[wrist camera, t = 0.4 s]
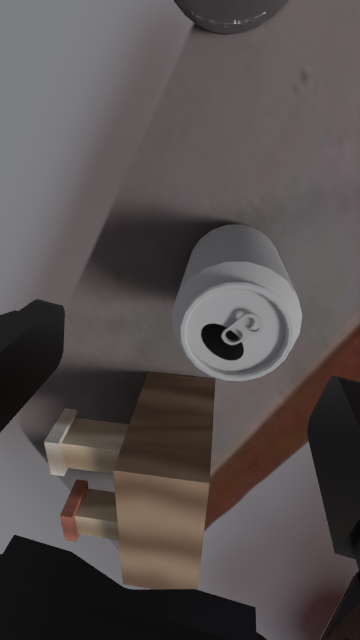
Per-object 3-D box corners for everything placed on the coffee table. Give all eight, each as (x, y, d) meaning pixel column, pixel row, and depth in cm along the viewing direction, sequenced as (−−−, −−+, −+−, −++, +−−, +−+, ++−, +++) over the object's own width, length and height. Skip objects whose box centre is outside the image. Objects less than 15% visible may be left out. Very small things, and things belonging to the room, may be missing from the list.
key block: (147, 371, 35) (113, 470, 24) (215, 379, 34) (209, 483, 24) (149, 474, 42) (122, 583, 32) (204, 482, 42) (196, 596, 31)
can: (171, 266, 29) (139, 335, 19) (234, 201, 26) (238, 240, 16) (231, 321, 31) (233, 412, 21) (297, 266, 28) (339, 340, 17)
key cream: (64, 408, 31) (43, 441, 28) (162, 420, 30) (153, 456, 27) (69, 439, 33) (50, 474, 30) (161, 451, 32) (153, 488, 29)
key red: (76, 479, 36) (60, 515, 32) (161, 491, 35) (153, 530, 32) (80, 503, 38) (65, 539, 34) (161, 515, 37) (154, 553, 33)
